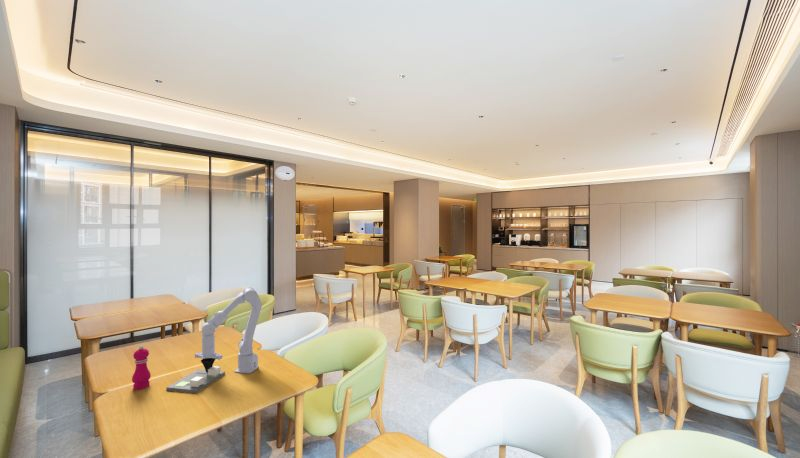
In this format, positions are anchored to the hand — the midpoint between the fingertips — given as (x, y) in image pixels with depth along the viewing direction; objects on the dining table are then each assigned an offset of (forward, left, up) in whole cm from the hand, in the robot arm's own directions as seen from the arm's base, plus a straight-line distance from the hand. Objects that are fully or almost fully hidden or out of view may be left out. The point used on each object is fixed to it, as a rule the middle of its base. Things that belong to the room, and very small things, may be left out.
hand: (208, 372), depth 174 cm
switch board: (+1, +6, -2) cm, 7 cm away
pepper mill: (+24, +15, -3) cm, 29 cm away
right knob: (-3, 0, -1) cm, 3 cm away
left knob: (-4, +12, -1) cm, 13 cm away
